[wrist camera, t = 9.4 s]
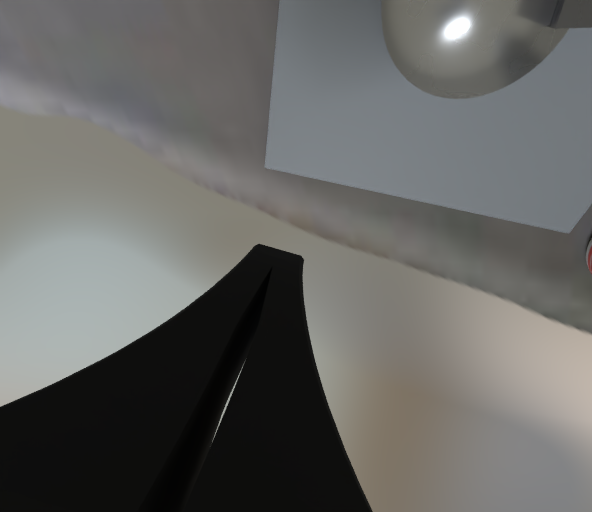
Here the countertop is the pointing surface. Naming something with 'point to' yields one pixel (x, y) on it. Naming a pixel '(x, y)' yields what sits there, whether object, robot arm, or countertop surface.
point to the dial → (475, 40)
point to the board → (429, 122)
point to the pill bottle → (589, 256)
